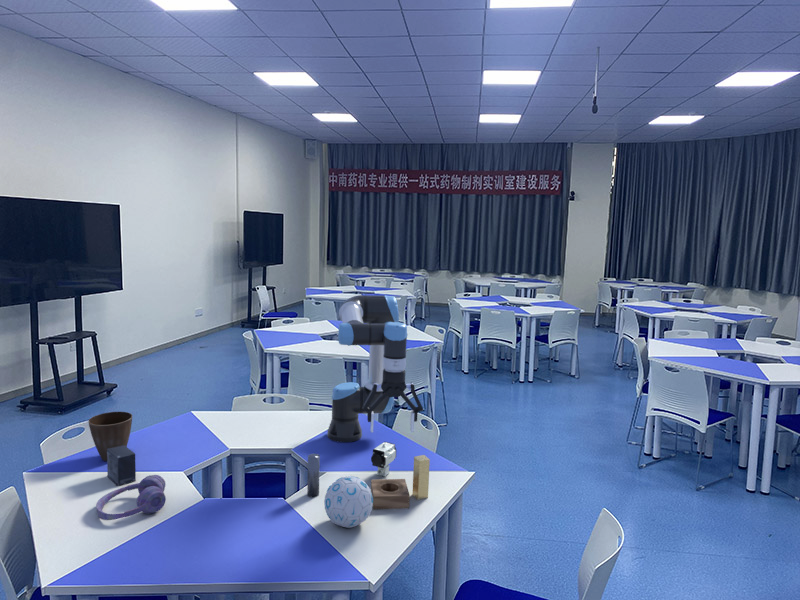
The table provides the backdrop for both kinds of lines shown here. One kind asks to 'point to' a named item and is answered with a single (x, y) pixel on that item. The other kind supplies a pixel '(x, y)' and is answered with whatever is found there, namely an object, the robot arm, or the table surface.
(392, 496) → the bore block
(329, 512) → the puzzle ball
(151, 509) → the headphones
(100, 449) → the plant pot
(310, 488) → the cylinder
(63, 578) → the table surface
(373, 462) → the pneumatic valve
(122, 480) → the small box
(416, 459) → the square bit
